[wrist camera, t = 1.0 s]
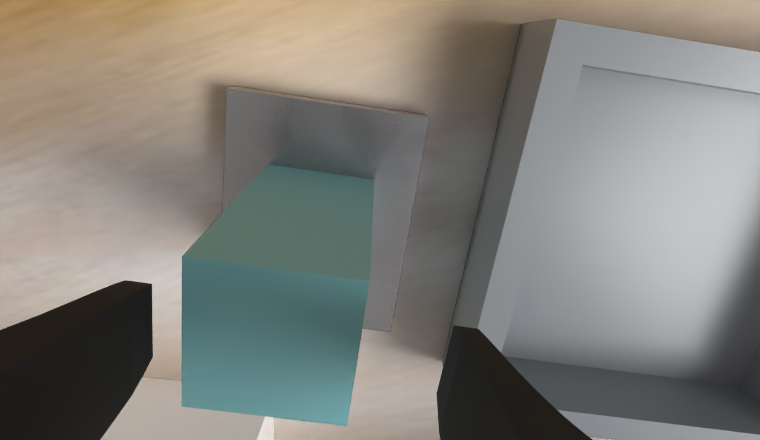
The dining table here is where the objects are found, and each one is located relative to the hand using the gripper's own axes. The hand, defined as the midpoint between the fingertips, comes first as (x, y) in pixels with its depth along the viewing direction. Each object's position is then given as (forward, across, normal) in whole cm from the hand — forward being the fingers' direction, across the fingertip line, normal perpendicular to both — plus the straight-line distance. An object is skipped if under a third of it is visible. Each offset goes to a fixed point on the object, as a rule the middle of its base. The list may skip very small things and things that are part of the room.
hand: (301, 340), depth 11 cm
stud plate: (+10, +1, +1) cm, 10 cm away
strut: (+9, +1, +1) cm, 9 cm away
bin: (+10, -14, 0) cm, 18 cm away
